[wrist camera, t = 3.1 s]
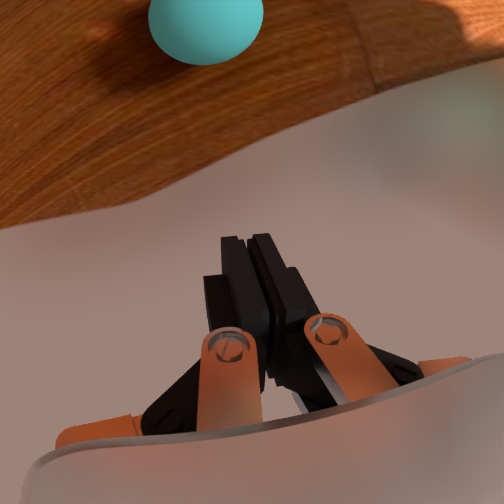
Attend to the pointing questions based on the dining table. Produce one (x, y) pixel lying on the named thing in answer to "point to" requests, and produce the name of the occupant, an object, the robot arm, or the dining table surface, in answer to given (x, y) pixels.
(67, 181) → the dining table surface
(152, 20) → the ball
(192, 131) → the dining table surface
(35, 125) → the dining table surface
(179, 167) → the dining table surface
